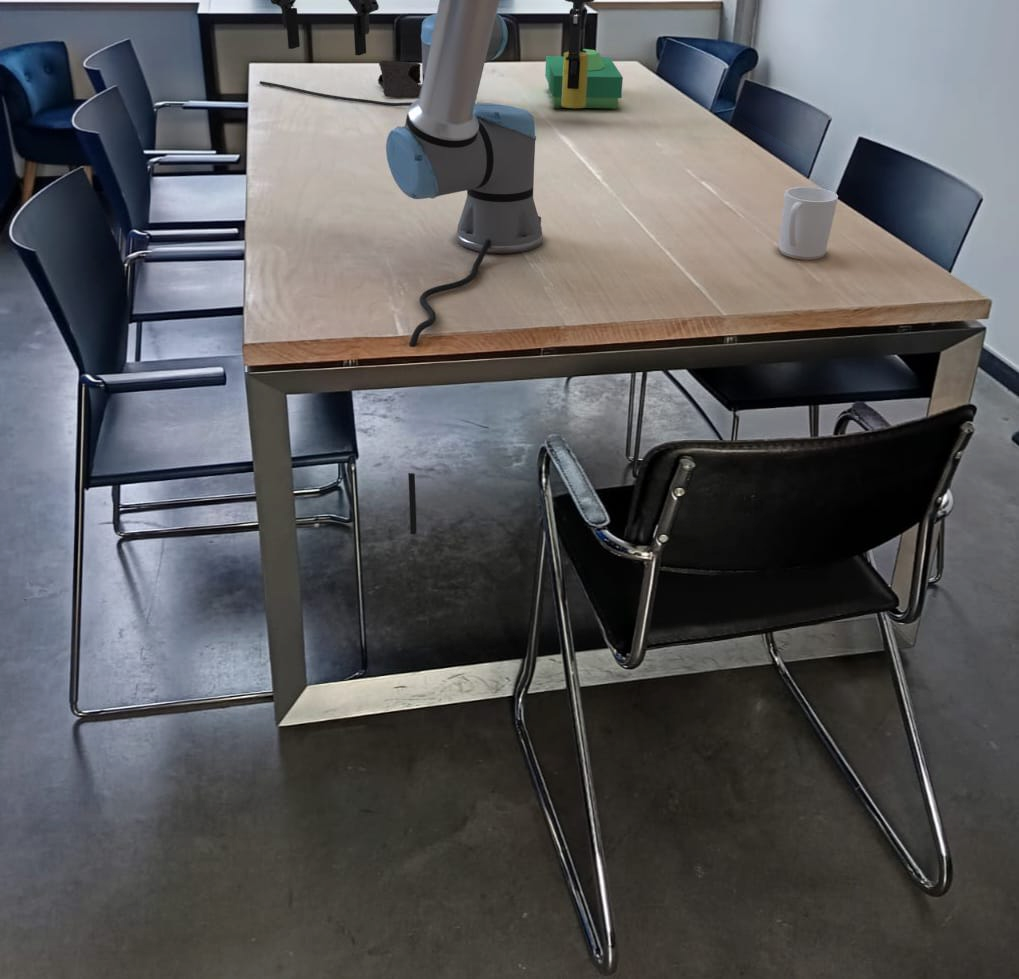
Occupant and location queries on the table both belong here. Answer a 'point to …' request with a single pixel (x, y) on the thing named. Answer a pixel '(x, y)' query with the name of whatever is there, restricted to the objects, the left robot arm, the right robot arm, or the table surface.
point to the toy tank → (588, 81)
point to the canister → (578, 96)
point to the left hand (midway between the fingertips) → (574, 85)
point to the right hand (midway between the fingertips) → (327, 51)
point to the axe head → (400, 79)
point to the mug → (806, 222)
